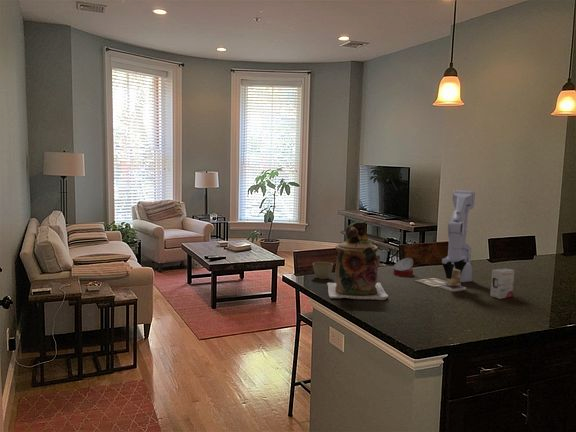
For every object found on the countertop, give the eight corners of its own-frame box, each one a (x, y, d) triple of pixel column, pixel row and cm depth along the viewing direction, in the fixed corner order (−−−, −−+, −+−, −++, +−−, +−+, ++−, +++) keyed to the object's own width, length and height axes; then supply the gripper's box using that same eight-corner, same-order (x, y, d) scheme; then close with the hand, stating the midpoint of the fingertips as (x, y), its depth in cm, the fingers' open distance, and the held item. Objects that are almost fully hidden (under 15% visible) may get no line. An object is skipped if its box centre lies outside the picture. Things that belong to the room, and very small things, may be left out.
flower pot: (332, 276, 247) (333, 262, 246) (332, 280, 237) (333, 266, 236) (312, 275, 248) (313, 261, 247) (311, 279, 238) (312, 265, 237)
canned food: (412, 284, 252) (417, 269, 247) (392, 282, 252) (397, 267, 247) (409, 270, 262) (414, 255, 256) (390, 268, 262) (394, 253, 256)
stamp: (455, 283, 228) (456, 268, 228) (460, 286, 224) (461, 270, 223) (445, 283, 228) (445, 268, 227) (450, 286, 223) (451, 271, 222)
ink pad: (452, 285, 231) (452, 283, 231) (465, 289, 224) (466, 286, 224) (439, 287, 227) (439, 284, 227) (452, 291, 220) (453, 288, 220)
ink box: (503, 294, 217) (505, 267, 216) (513, 297, 213) (515, 270, 212) (489, 296, 213) (491, 269, 212) (498, 299, 209) (500, 271, 208)
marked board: (435, 279, 245) (435, 277, 245) (454, 284, 233) (455, 283, 233) (414, 281, 239) (414, 280, 239) (434, 287, 227) (434, 286, 227)
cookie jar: (326, 285, 227) (328, 216, 224) (380, 287, 227) (382, 217, 223) (329, 300, 203) (331, 222, 199) (389, 301, 202) (392, 223, 199)
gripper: (457, 245, 231) (456, 274, 233) (437, 248, 223) (435, 277, 225) (470, 247, 225) (469, 277, 227) (449, 250, 217) (448, 280, 219)
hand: (453, 277), depth 225 cm, fingers closed on stamp, 6 cm apart
